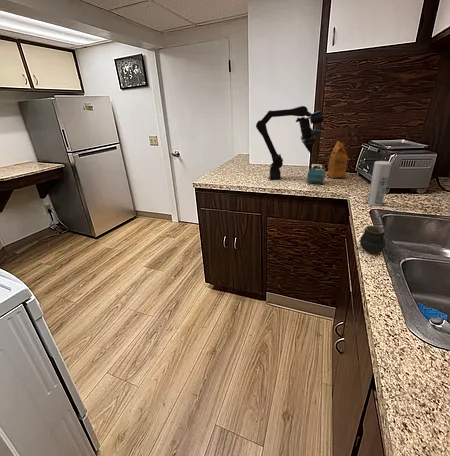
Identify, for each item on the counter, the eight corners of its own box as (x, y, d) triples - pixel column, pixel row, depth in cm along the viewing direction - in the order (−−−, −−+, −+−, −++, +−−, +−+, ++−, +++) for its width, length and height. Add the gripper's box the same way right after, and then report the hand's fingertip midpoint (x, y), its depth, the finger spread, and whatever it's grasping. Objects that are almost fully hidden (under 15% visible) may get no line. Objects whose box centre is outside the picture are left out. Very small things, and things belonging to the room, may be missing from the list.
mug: (324, 181, 153) (326, 163, 149) (322, 185, 147) (324, 166, 142) (309, 180, 158) (311, 162, 153) (306, 183, 151) (308, 165, 147)
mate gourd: (387, 250, 83) (393, 224, 79) (376, 259, 79) (382, 231, 75) (365, 241, 88) (370, 216, 85) (354, 249, 84) (358, 223, 81)
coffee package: (341, 173, 167) (345, 140, 159) (346, 178, 156) (351, 143, 147) (325, 173, 169) (329, 140, 160) (329, 178, 158) (333, 144, 149)
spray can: (372, 199, 123) (380, 160, 115) (385, 204, 118) (394, 162, 110) (364, 202, 120) (371, 162, 113) (377, 207, 115) (385, 164, 107)
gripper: (322, 124, 139) (326, 151, 144) (316, 122, 156) (320, 146, 161) (301, 130, 142) (307, 156, 147) (298, 127, 159) (303, 150, 164)
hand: (310, 152), depth 154 cm, fingers open, 9 cm apart
